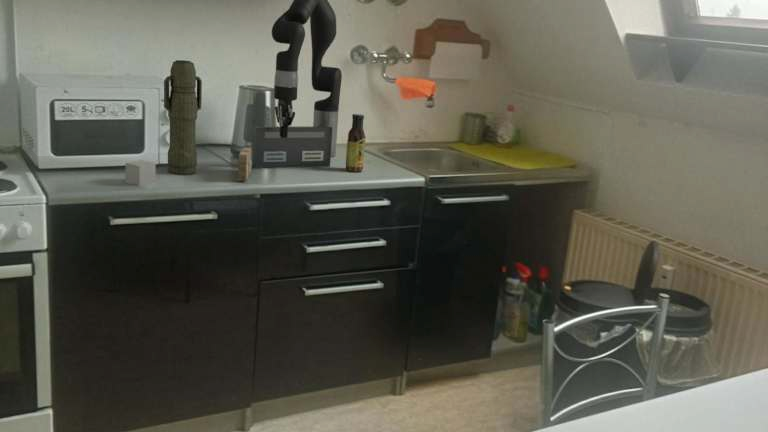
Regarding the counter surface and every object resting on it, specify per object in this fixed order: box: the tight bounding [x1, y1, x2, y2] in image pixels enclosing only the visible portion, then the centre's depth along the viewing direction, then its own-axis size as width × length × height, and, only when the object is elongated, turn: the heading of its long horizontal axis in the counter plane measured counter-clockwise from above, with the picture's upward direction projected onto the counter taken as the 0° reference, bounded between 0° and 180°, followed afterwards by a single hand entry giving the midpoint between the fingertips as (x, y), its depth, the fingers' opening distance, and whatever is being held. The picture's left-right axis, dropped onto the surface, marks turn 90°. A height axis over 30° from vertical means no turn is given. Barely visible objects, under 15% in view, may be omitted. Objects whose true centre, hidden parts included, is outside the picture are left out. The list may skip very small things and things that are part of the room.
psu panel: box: [252, 125, 332, 169], centre depth 255 cm, size 3×28×14 cm, turn 118°
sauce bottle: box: [345, 113, 366, 173], centre depth 257 cm, size 7×6×20 cm
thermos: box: [163, 59, 203, 176], centre depth 231 cm, size 9×12×35 cm
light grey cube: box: [124, 159, 157, 187], centre depth 218 cm, size 6×6×6 cm
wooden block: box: [237, 145, 253, 182], centre depth 236 cm, size 17×3×8 cm, turn 4°
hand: (283, 137), depth 243 cm, fingers closed
